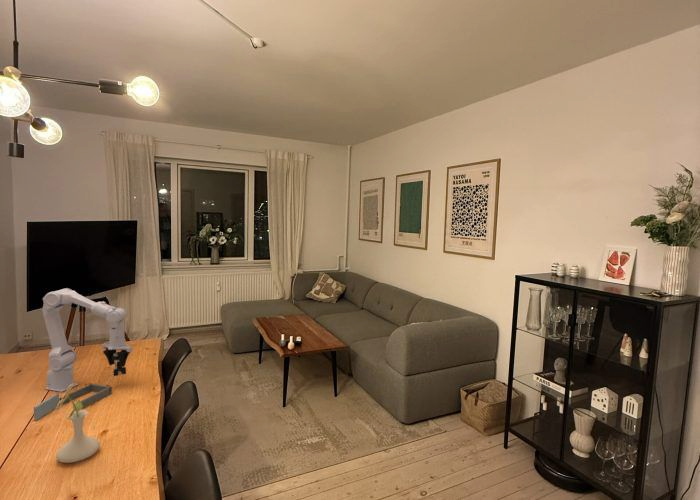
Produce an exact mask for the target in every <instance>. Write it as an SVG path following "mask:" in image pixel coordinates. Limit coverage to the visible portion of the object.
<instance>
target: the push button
mask: <svg viewBox="0 0 700 500" xmlns="http://www.w3.org/2000/svg"><path fill="white" fill-rule="evenodd" d="M118 352H119V351H116V353H114V355H112V356H111V357H112V360H114V364H113V365H114V368H113V372H109V377H110V376H114V377H117V376H122V375H126V374H127V368H126V365H125V366H123V367H120V364H119V357H118V355H117V353H118Z"/></svg>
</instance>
